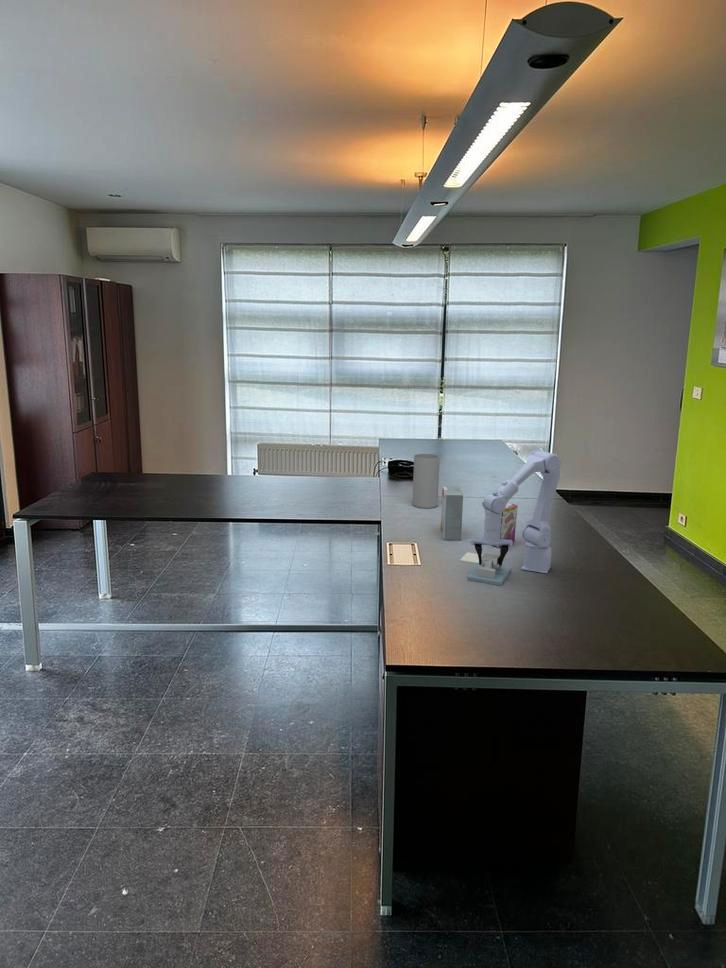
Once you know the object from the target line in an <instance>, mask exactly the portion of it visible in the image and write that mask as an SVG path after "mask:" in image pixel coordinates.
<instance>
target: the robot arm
mask: <svg viewBox="0 0 726 968" xmlns="http://www.w3.org/2000/svg"><path fill="white" fill-rule="evenodd" d="M561 466H562V460H561V459H560V456H558V454H556V453H552V452H548V451H543V450H541V449H534V450H533V451H532V452H531V454H530V455H528V456H527V460H526V462H525V463H524V464H523V465H522V466H521V468H520V469H519V470H518V471H517V472H516V473H515V474H514V476H513V477H512V478H511V479H505V480H503V481H502V482H501V484H500V486H499V487H498V488H497V489H496V490H494V491H493V492H492V493H490V494H487V495H486V496H485V497H484V499H483V501H482V503H481V504H482V507H483V509H484V531H483V537H478V538H473V537H472V538H470V545H471V546H474V548H475V552H476V554H478V558H479V565H481V555H483V553H482V552H483V546H491V545H494V546H493V547H495V546H500V549H499V552H500V553H499V556H500V560H499V565H500V566H502V567H503V562H504V559H505V557H506V555H507V553H508V552H509V550H510V548H513V546H514V545H513V544H514V543H513V541H512V540H506V539H500V532H501V517H502V511H504V510H505V508H506V504H507V503H509V501H510V500H511V499H512V498H513V497H514V496H515V495H516V494H517V493H518V492H519V486H520V485H522V483H524V482H525V481H526V480H527V479H528V478H530V476H532V475H533V474H534V473H540V474H541V476H542V481H541V485H540V488H539V492H538V495H537V496H538V497H537V499H536V500H537V501H536V505H535V508H534V512H533V516H532V518H531V519H529V520H527V521H526V524H525V526H524V528H523V530H522V532H521V537H522V539H523V540H524V544H525V549H524V561H523V565H522V566H521V570H523V571H530V572H537V573H542V574H548V573H549V571H550V569H551V564H552V563H551V562H552V547H551V546H549V545H550V544H551V540H552V537H551V532H552V528H551V526H550V524H549V519H550V515H551V510H552V508H553V502H554V499H555V495H556V492H557V487H558V484H559V480H560V477H561V470H560V468H561Z"/></svg>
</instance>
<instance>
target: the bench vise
mask: <svg viewBox="0 0 726 968" xmlns="http://www.w3.org/2000/svg"><path fill="white" fill-rule="evenodd" d="M511 571H512V567H507V566H503V565H502V566H500V565H499V566H498V568H497V569H495V568H493V561H487V560H486V562H485V567H482V566H481V565H479V564H476V566H475V568H473V570H472V571H470V573H469V574H468V576H467V578H466V580H467V581H471V582H475V583H481V584H482V583H483V584H487V585H493V584H494V585H495V586H499V585H500V587H501V586H502V585H503V583H504V582H505V581H506V579H507V578H506V577H508V576H509V574H510V573H511ZM504 580H505V581H504Z"/></svg>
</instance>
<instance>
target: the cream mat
mask: <svg viewBox="0 0 726 968" xmlns="http://www.w3.org/2000/svg"><path fill="white" fill-rule="evenodd" d="M482 556H483V554H482V555H481V560H482ZM459 561H460V562H465V563H469V564H470V563H471V564H476V565H478V564H479V558H478V554H477V553H474V552H469V551H467V552H466V553H465V554H464V555H463V556H462V557H461V558H460V560H459Z"/></svg>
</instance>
